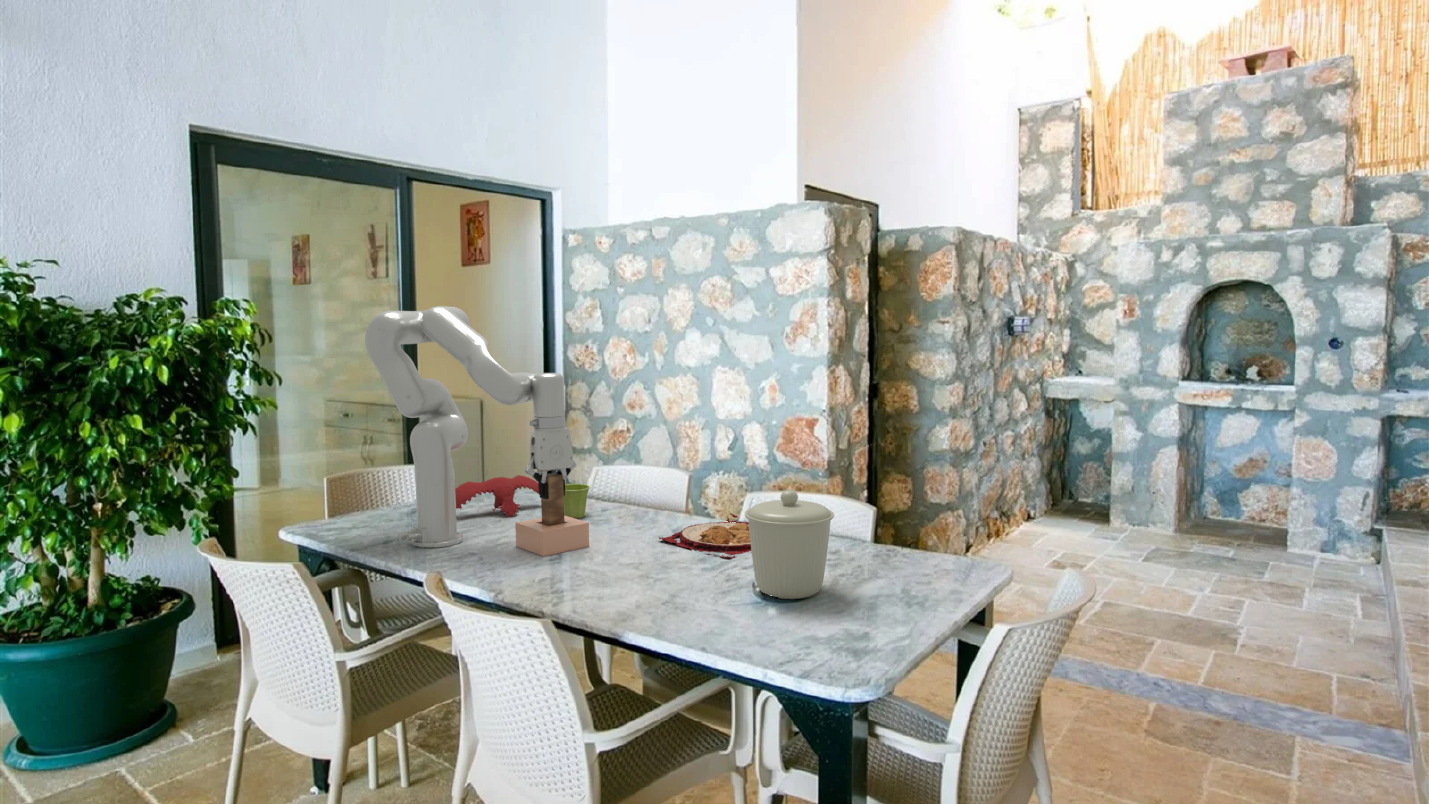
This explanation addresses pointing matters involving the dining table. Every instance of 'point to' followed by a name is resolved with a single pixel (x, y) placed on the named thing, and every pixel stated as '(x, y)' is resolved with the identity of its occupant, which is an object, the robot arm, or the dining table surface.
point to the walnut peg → (553, 501)
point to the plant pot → (575, 500)
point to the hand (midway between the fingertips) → (552, 496)
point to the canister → (789, 545)
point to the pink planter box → (552, 536)
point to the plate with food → (715, 537)
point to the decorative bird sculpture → (496, 492)
